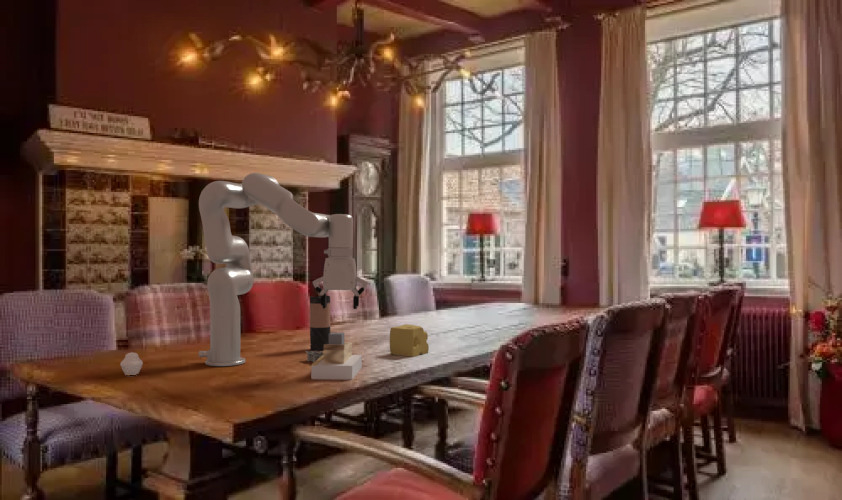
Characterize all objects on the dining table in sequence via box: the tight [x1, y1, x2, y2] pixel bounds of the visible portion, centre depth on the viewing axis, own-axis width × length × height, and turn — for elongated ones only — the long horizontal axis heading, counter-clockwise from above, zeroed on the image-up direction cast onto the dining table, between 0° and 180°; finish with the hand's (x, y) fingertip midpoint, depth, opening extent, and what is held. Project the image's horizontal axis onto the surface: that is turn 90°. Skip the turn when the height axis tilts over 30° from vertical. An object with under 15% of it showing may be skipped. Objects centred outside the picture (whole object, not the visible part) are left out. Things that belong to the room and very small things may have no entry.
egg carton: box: [305, 350, 324, 364], centre depth 218 cm, size 11×8×4 cm
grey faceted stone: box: [120, 351, 144, 376], centre depth 193 cm, size 6×6×7 cm
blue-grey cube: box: [329, 332, 345, 345], centre depth 198 cm, size 4×4×4 cm
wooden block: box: [323, 342, 353, 364], centre depth 198 cm, size 6×15×6 cm, turn 177°
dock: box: [310, 354, 363, 381], centre depth 197 cm, size 12×19×4 cm, turn 177°
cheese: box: [389, 323, 430, 358], centre depth 233 cm, size 10×11×10 cm
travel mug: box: [309, 295, 331, 352], centre depth 243 cm, size 8×8×20 cm
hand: (339, 308), depth 202 cm, fingers open, 9 cm apart
